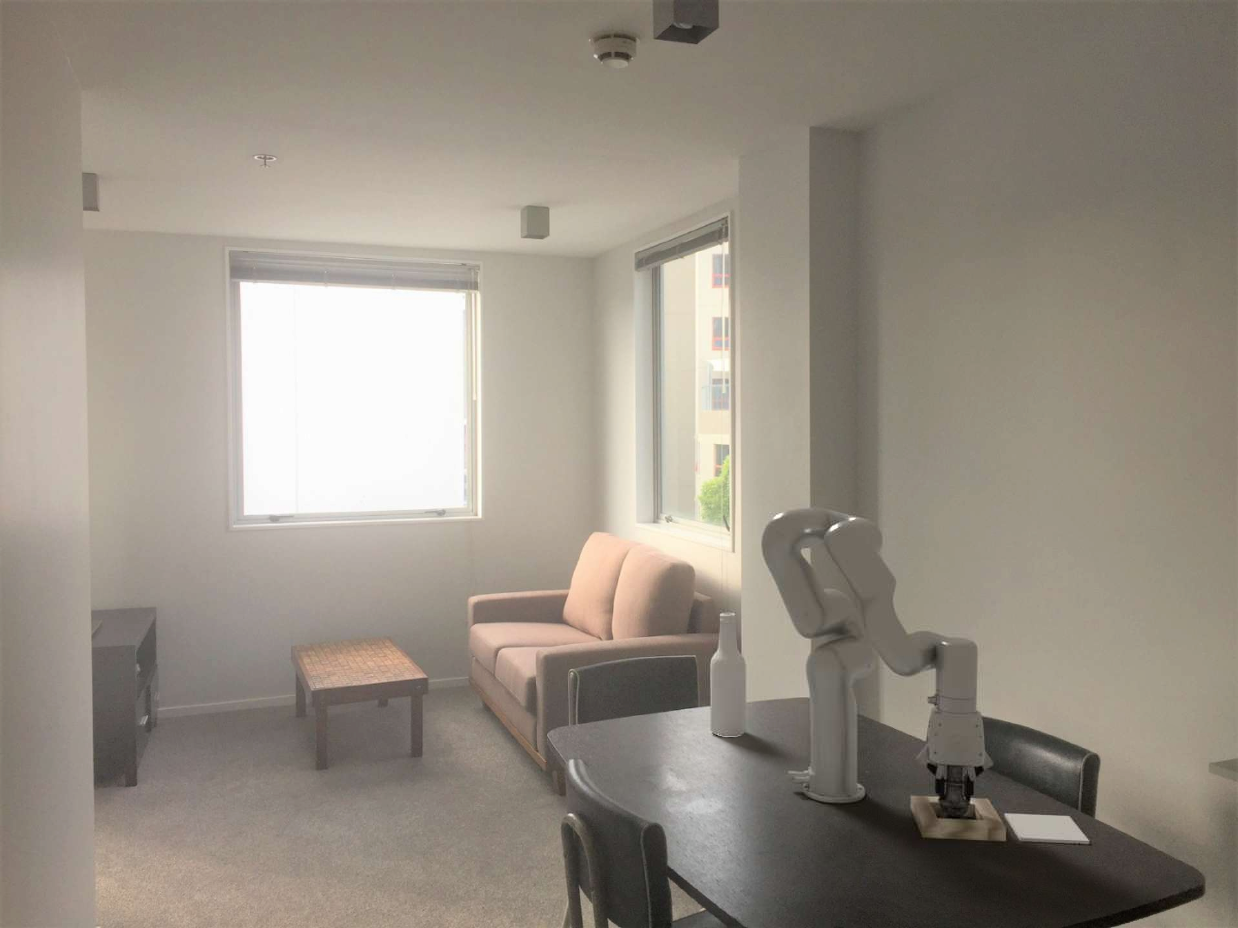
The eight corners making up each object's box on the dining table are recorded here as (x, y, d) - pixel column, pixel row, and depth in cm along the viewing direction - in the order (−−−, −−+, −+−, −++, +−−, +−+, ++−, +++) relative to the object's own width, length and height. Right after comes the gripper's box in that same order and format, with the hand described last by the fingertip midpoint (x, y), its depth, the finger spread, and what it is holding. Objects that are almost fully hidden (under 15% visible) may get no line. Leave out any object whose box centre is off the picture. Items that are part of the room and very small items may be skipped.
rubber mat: (1020, 840, 186) (1020, 837, 186) (1004, 816, 198) (1004, 813, 197) (1089, 843, 184) (1089, 840, 184) (1069, 818, 196) (1069, 815, 196)
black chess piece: (971, 826, 191) (973, 763, 190) (939, 824, 192) (940, 761, 191) (967, 814, 197) (968, 753, 196) (936, 812, 198) (937, 751, 197)
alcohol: (751, 731, 255) (751, 612, 254) (737, 740, 247) (736, 618, 247) (719, 726, 260) (719, 609, 259) (704, 734, 252) (704, 615, 251)
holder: (922, 837, 188) (922, 823, 188) (910, 807, 202) (910, 795, 202) (1005, 841, 186) (1006, 827, 186) (987, 811, 200) (987, 798, 200)
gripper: (913, 707, 191) (911, 802, 191) (1006, 710, 188) (1004, 807, 189) (907, 696, 198) (906, 788, 199) (997, 700, 196) (995, 793, 197)
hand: (954, 796), depth 194 cm, fingers closed on black chess piece, 4 cm apart
